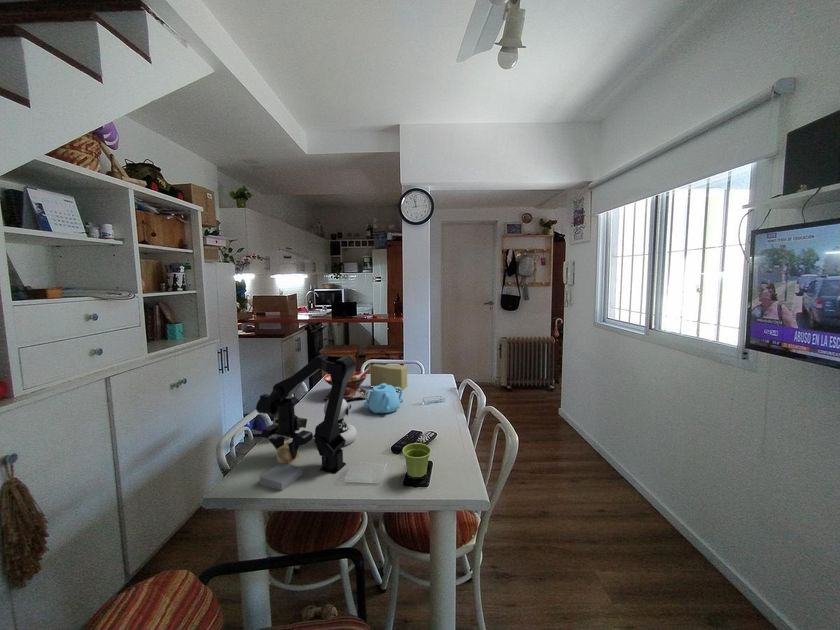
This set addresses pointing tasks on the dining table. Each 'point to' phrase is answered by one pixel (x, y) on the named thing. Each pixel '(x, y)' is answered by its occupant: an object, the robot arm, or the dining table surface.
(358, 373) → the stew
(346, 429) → the decorative figurine
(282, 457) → the oak cube
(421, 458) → the plant pot
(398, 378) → the cheese
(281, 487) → the block
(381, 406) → the decorative pot
